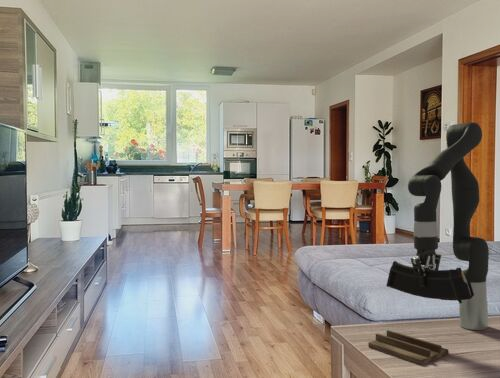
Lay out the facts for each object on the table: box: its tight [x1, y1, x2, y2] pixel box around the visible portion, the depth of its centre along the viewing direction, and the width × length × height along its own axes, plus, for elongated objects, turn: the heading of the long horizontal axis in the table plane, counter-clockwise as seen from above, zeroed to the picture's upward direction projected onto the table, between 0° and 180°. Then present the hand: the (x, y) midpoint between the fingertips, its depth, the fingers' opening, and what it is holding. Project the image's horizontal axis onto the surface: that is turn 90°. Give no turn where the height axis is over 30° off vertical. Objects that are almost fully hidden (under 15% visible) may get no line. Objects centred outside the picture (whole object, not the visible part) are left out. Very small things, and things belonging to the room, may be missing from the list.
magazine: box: [385, 260, 474, 304], centre depth 155 cm, size 17×3×30 cm
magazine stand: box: [367, 329, 449, 366], centre depth 148 cm, size 14×20×4 cm
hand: (426, 285), depth 154 cm, fingers closed on magazine, 3 cm apart
